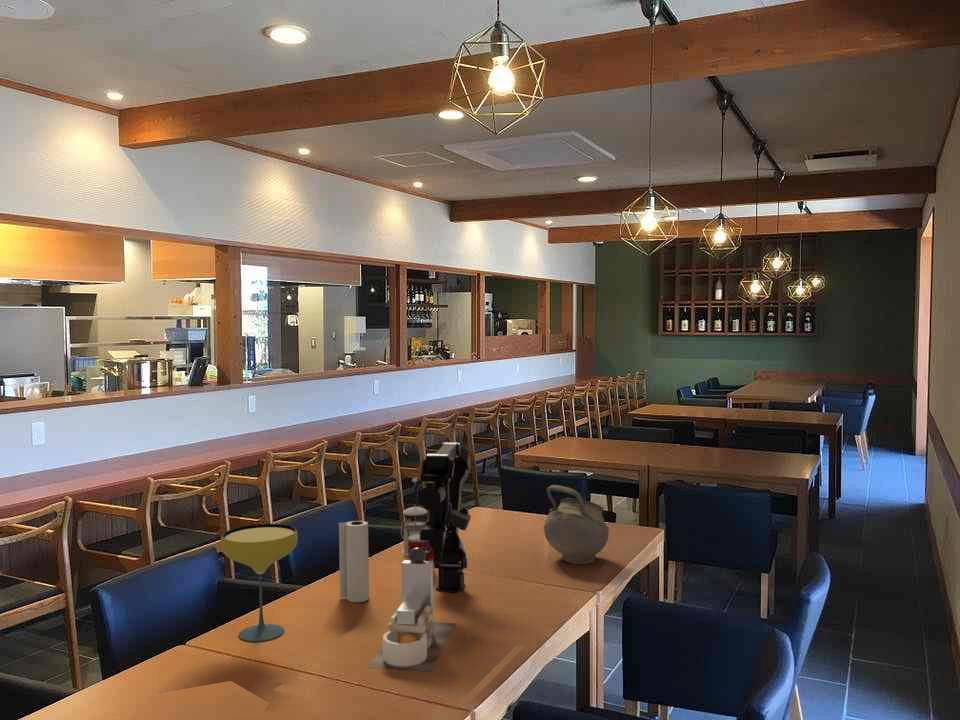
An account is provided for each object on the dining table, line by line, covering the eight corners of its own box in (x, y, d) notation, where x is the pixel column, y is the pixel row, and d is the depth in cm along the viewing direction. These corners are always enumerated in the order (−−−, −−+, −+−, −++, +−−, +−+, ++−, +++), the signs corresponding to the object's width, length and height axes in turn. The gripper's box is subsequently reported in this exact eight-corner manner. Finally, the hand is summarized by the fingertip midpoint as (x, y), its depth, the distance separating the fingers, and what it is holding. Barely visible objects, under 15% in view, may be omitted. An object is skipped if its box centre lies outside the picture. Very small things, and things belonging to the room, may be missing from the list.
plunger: (406, 631, 189) (404, 544, 188) (434, 633, 188) (433, 545, 187) (390, 654, 176) (389, 560, 175) (421, 656, 175) (420, 562, 174)
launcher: (400, 624, 197) (400, 586, 197) (455, 627, 195) (454, 589, 195) (366, 673, 170) (366, 629, 169) (429, 677, 168) (429, 632, 167)
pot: (564, 573, 238) (563, 491, 237) (532, 555, 256) (532, 479, 255) (621, 564, 246) (621, 485, 245) (587, 548, 265) (586, 474, 264)
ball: (401, 644, 179) (394, 649, 175) (407, 628, 179) (400, 632, 175) (416, 652, 178) (409, 657, 174) (422, 635, 177) (416, 640, 174)
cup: (375, 662, 172) (374, 640, 172) (397, 646, 181) (397, 625, 181) (413, 670, 168) (413, 647, 168) (434, 653, 177) (434, 631, 177)
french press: (436, 551, 263) (435, 476, 262) (415, 559, 253) (414, 482, 252) (412, 546, 268) (411, 474, 267) (391, 555, 258) (390, 479, 257)
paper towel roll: (373, 599, 217) (372, 522, 216) (356, 604, 212) (355, 526, 211) (357, 593, 221) (356, 518, 221) (340, 598, 217) (338, 522, 216)
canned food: (404, 574, 238) (403, 538, 238) (415, 567, 245) (415, 532, 245) (426, 577, 235) (426, 541, 235) (438, 569, 242) (437, 534, 242)
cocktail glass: (219, 626, 197) (217, 528, 196) (292, 615, 205) (290, 520, 204) (226, 653, 181) (224, 546, 180) (305, 640, 188) (303, 537, 187)
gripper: (461, 509, 199) (462, 570, 199) (474, 494, 217) (474, 550, 218) (418, 508, 200) (419, 568, 201) (434, 493, 219) (435, 548, 219)
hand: (439, 558), depth 210 cm, fingers closed
